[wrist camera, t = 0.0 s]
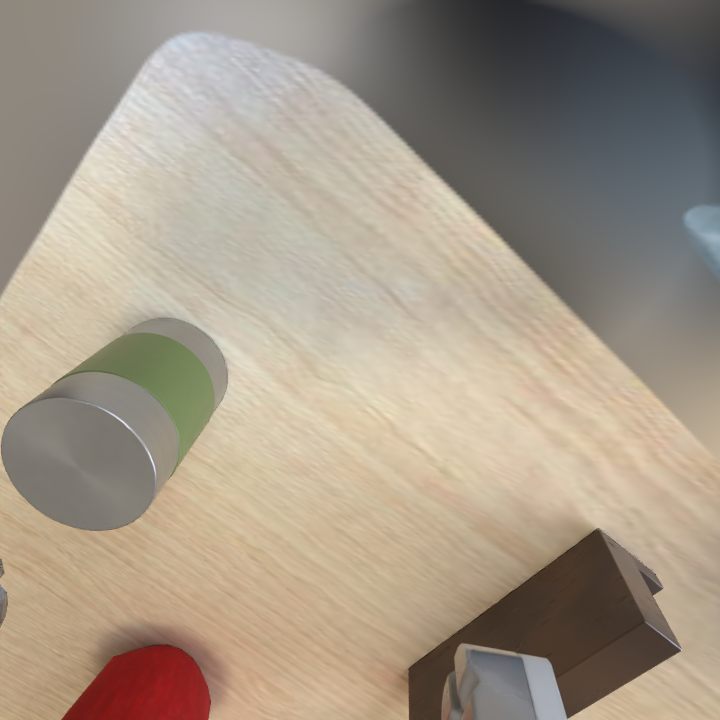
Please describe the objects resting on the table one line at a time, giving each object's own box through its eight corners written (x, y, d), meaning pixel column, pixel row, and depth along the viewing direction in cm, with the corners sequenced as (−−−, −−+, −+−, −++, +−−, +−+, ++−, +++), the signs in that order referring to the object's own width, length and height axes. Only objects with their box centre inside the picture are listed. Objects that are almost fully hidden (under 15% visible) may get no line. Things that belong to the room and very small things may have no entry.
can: (116, 307, 30) (-10, 382, 21) (232, 328, 30) (158, 413, 21) (117, 409, 33) (6, 516, 23) (224, 429, 33) (155, 544, 23)
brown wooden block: (598, 528, 34) (645, 621, 27) (655, 574, 35) (713, 674, 28) (407, 668, 40) (409, 771, 33) (461, 704, 41) (472, 810, 34)
